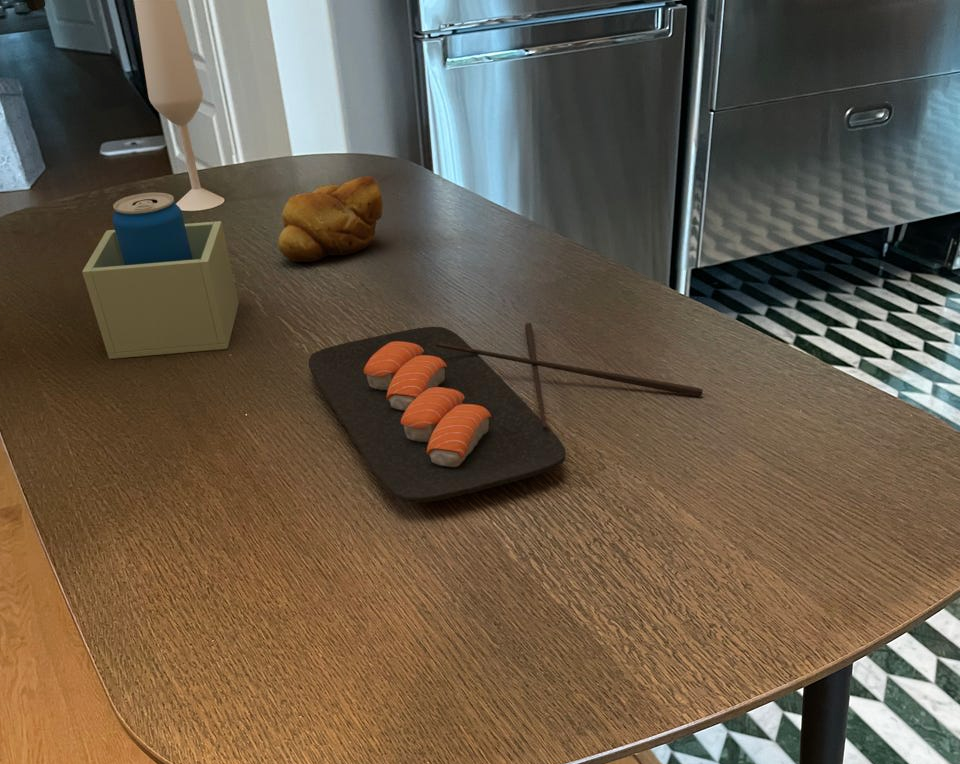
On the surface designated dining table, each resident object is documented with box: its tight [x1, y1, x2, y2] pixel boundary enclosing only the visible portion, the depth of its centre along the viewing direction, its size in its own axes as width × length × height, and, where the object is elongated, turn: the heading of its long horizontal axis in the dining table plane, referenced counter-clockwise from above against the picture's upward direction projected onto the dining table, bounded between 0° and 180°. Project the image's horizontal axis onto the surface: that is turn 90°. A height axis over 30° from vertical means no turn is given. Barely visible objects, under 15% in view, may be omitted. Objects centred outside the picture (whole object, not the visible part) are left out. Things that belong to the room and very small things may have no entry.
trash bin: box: [81, 220, 240, 360], centre depth 100 cm, size 12×12×9 cm
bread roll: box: [277, 176, 384, 262], centre depth 116 cm, size 13×10×8 cm
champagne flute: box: [133, 0, 225, 212], centre depth 128 cm, size 7×7×24 cm
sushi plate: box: [308, 323, 704, 504], centre depth 86 cm, size 29×30×4 cm
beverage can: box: [111, 192, 193, 265], centre depth 98 cm, size 6×6×12 cm
